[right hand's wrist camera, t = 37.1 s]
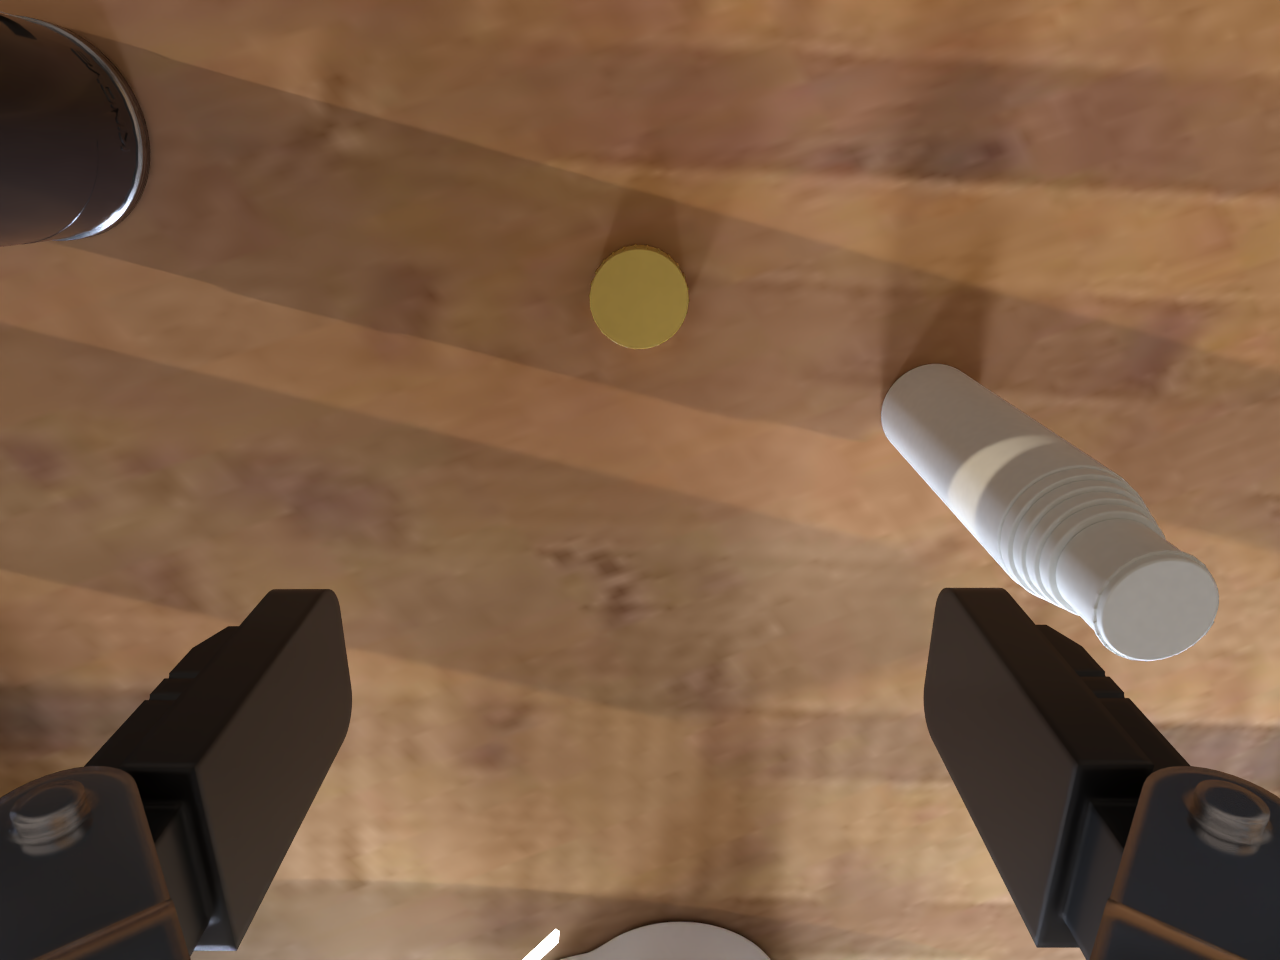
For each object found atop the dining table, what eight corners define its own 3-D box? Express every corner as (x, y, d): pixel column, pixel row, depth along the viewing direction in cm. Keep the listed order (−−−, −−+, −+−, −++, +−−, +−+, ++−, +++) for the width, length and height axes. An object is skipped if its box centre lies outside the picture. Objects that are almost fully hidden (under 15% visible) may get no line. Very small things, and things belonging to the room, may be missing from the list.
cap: (609, 354, 43) (607, 363, 41) (577, 261, 41) (574, 266, 39) (699, 324, 42) (702, 332, 40) (670, 230, 41) (672, 233, 39)
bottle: (864, 437, 44) (1039, 654, 25) (908, 349, 43) (1133, 508, 23) (948, 469, 45) (1184, 705, 26) (995, 383, 43) (1285, 566, 24)
